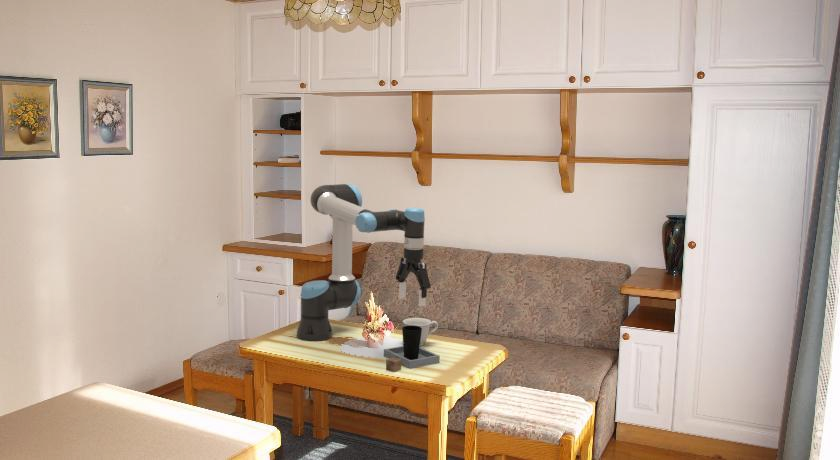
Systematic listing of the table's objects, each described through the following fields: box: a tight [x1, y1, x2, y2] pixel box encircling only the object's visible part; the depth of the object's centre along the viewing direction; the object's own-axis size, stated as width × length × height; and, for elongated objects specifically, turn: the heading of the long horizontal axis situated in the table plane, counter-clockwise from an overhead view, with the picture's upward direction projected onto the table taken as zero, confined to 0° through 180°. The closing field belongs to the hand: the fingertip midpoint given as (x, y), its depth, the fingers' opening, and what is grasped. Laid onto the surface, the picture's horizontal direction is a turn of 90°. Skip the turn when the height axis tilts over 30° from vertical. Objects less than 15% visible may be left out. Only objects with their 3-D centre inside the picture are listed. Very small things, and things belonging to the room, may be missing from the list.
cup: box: [401, 325, 422, 360], centre depth 300 cm, size 8×8×12 cm
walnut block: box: [385, 358, 402, 373], centre depth 287 cm, size 4×4×4 cm
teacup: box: [402, 317, 439, 347], centre depth 321 cm, size 12×15×10 cm
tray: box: [383, 345, 440, 369], centre depth 300 cm, size 18×14×3 cm
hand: (412, 302), depth 298 cm, fingers open, 13 cm apart
